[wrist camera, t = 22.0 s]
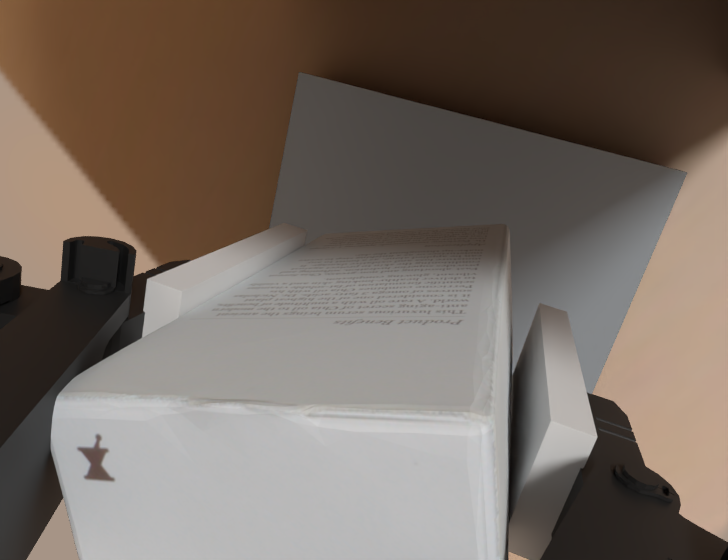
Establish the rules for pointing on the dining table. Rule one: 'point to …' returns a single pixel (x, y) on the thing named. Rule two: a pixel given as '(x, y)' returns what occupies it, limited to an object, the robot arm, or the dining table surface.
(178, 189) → the dining table surface
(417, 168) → the pull-out tray
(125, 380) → the skincare box
